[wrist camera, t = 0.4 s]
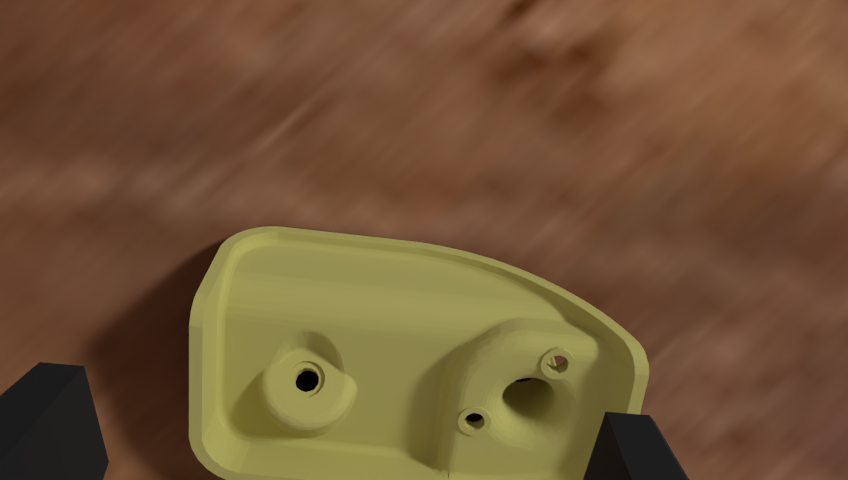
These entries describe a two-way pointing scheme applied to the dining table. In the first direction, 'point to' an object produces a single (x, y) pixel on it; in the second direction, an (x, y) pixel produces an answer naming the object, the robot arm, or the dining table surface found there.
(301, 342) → the plastic component
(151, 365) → the dining table surface
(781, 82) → the dining table surface
